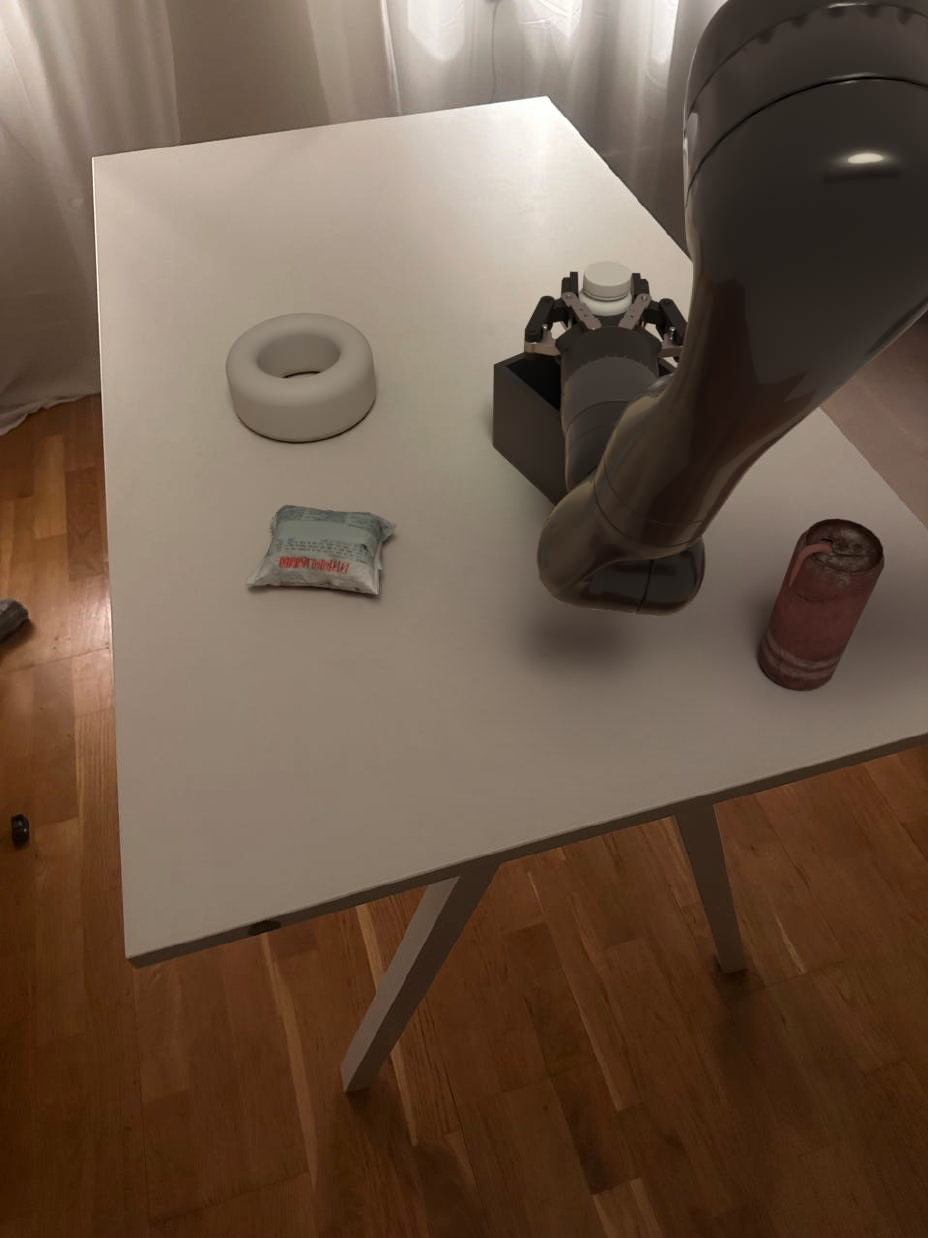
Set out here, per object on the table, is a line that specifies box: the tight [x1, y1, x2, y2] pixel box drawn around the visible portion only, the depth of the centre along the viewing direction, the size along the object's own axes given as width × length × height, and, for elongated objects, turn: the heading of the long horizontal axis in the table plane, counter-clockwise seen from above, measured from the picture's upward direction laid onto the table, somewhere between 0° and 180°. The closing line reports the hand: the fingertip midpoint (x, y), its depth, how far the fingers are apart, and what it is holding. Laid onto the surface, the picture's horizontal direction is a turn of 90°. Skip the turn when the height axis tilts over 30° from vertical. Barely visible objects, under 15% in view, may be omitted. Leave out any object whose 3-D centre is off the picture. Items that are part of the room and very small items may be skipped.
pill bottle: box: [578, 260, 632, 317], centre depth 83 cm, size 5×5×8 cm
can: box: [757, 518, 885, 691], centre depth 73 cm, size 6×6×14 cm
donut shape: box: [225, 312, 377, 443], centre depth 99 cm, size 15×15×7 cm
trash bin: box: [492, 337, 677, 507], centre depth 91 cm, size 14×14×10 cm
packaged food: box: [245, 504, 397, 596], centre depth 84 cm, size 9×12×5 cm
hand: (603, 282), depth 83 cm, fingers closed on pill bottle, 4 cm apart
